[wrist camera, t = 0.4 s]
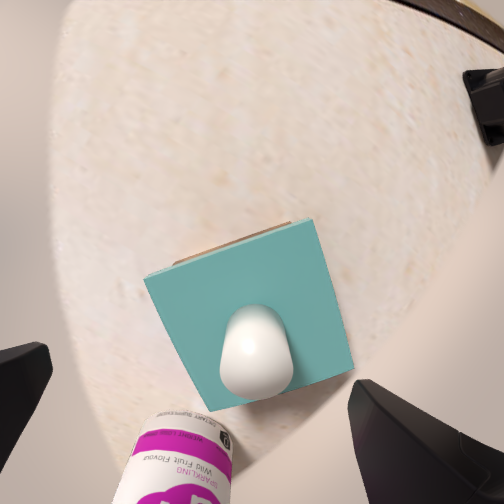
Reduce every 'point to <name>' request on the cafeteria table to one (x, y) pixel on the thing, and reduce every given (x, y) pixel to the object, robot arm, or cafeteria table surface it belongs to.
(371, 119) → the cafeteria table surface
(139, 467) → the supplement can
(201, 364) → the lid
